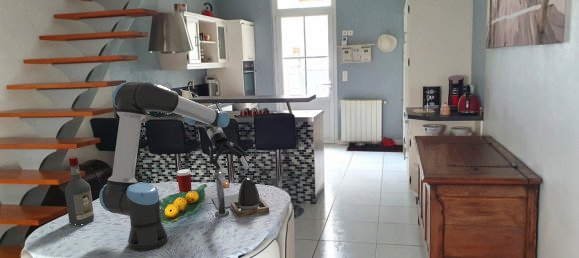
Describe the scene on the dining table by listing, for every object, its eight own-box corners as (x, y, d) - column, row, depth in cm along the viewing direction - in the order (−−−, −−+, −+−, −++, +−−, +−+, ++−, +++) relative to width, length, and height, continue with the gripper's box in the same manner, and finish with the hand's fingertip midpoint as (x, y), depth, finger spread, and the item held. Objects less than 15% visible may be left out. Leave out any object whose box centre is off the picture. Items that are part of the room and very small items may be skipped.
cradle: (237, 217, 206) (237, 212, 205) (231, 207, 220) (230, 202, 219) (269, 212, 210) (269, 207, 210) (261, 202, 224) (260, 197, 224)
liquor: (66, 223, 209) (57, 159, 203) (83, 216, 216) (75, 154, 211) (80, 226, 204) (71, 161, 199) (97, 219, 212) (88, 156, 207)
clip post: (216, 217, 207) (213, 180, 204) (214, 212, 213) (211, 176, 210) (230, 215, 209) (227, 178, 206) (227, 210, 215) (224, 174, 212)
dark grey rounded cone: (250, 215, 208) (248, 183, 205) (234, 211, 214) (231, 179, 211) (265, 208, 216) (263, 177, 213) (248, 204, 222) (246, 174, 219)
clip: (213, 175, 209) (213, 171, 209) (223, 174, 210) (222, 170, 210) (221, 188, 189) (221, 184, 189) (232, 187, 191) (231, 183, 190)
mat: (217, 209, 217) (217, 208, 217) (212, 199, 232) (211, 197, 232) (250, 204, 222) (250, 203, 222) (243, 194, 237) (242, 193, 237)
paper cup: (195, 194, 240) (193, 168, 238) (191, 199, 233) (188, 173, 230) (181, 194, 241) (178, 169, 239) (176, 199, 234) (173, 173, 231)
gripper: (196, 136, 219) (214, 172, 210) (241, 127, 234) (259, 161, 225) (192, 145, 224) (210, 181, 215) (236, 136, 239) (254, 170, 230)
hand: (235, 171), depth 220 cm, fingers open, 13 cm apart
